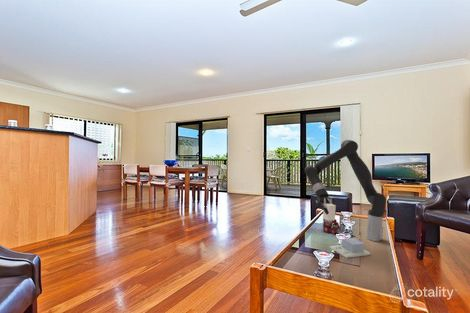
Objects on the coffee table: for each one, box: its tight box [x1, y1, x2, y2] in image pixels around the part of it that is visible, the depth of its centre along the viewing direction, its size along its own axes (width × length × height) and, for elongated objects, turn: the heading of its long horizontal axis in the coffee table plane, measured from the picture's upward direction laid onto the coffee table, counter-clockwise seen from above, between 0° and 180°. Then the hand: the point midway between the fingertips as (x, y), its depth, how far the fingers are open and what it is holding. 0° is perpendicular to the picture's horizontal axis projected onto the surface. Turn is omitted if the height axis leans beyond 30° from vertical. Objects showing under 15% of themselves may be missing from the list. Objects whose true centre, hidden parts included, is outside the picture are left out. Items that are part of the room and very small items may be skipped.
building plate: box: [329, 237, 371, 259], centre depth 153 cm, size 18×14×6 cm
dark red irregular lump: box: [322, 217, 341, 235], centre depth 186 cm, size 7×12×10 cm, turn 54°
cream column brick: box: [322, 203, 337, 221], centre depth 159 cm, size 5×5×10 cm
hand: (331, 213), depth 157 cm, fingers closed on cream column brick, 5 cm apart
